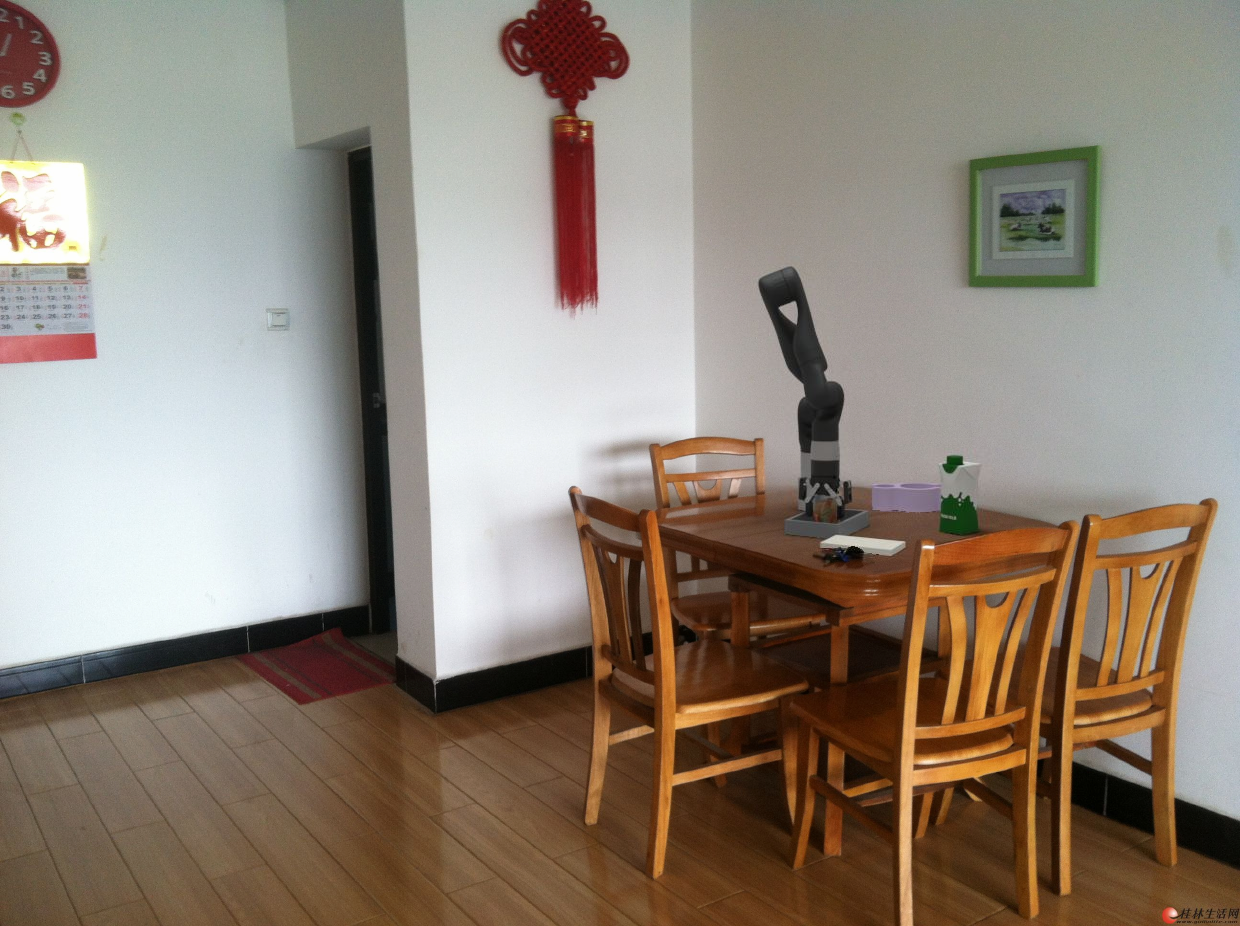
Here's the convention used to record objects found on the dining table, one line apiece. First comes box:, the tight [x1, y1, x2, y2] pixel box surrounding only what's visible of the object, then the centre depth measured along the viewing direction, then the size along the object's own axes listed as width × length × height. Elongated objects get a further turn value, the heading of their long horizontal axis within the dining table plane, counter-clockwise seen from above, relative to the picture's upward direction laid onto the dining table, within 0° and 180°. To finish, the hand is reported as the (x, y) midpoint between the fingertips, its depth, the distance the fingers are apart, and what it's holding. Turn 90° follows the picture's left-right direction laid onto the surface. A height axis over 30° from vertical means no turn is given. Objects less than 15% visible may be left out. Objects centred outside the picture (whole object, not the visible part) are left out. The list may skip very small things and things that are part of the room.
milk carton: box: [938, 454, 982, 536], centre depth 276 cm, size 9×9×20 cm
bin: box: [784, 508, 870, 540], centre depth 284 cm, size 15×21×4 cm
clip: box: [871, 481, 941, 514], centre depth 310 cm, size 20×12×7 cm, turn 80°
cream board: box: [819, 535, 906, 557], centre depth 262 cm, size 18×10×2 cm, turn 56°
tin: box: [813, 498, 842, 524], centre depth 284 cm, size 15×3×8 cm, turn 148°
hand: (824, 517), depth 284 cm, fingers open, 8 cm apart
